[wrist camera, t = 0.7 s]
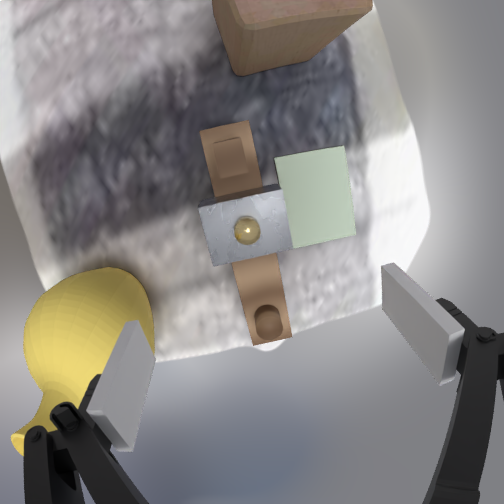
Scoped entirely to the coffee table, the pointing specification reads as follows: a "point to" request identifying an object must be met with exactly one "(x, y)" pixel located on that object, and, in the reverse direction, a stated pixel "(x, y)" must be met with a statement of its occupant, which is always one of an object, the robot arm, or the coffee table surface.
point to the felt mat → (317, 195)
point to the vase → (78, 336)
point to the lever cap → (246, 224)
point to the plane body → (258, 268)
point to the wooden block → (281, 29)
